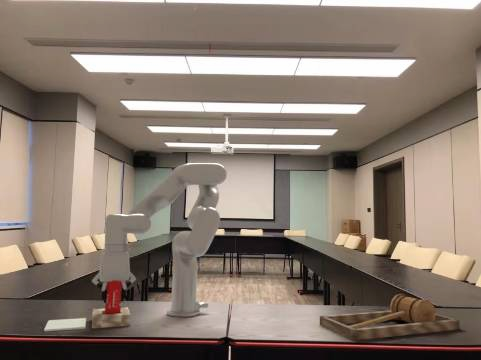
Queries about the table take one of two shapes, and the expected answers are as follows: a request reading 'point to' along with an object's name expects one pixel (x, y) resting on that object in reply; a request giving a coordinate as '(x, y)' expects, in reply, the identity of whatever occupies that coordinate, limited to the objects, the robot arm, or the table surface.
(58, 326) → the coaster board
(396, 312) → the mallet
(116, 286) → the beverage can
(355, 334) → the gavel rest frame
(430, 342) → the table surface
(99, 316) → the can holder
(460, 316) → the table surface
